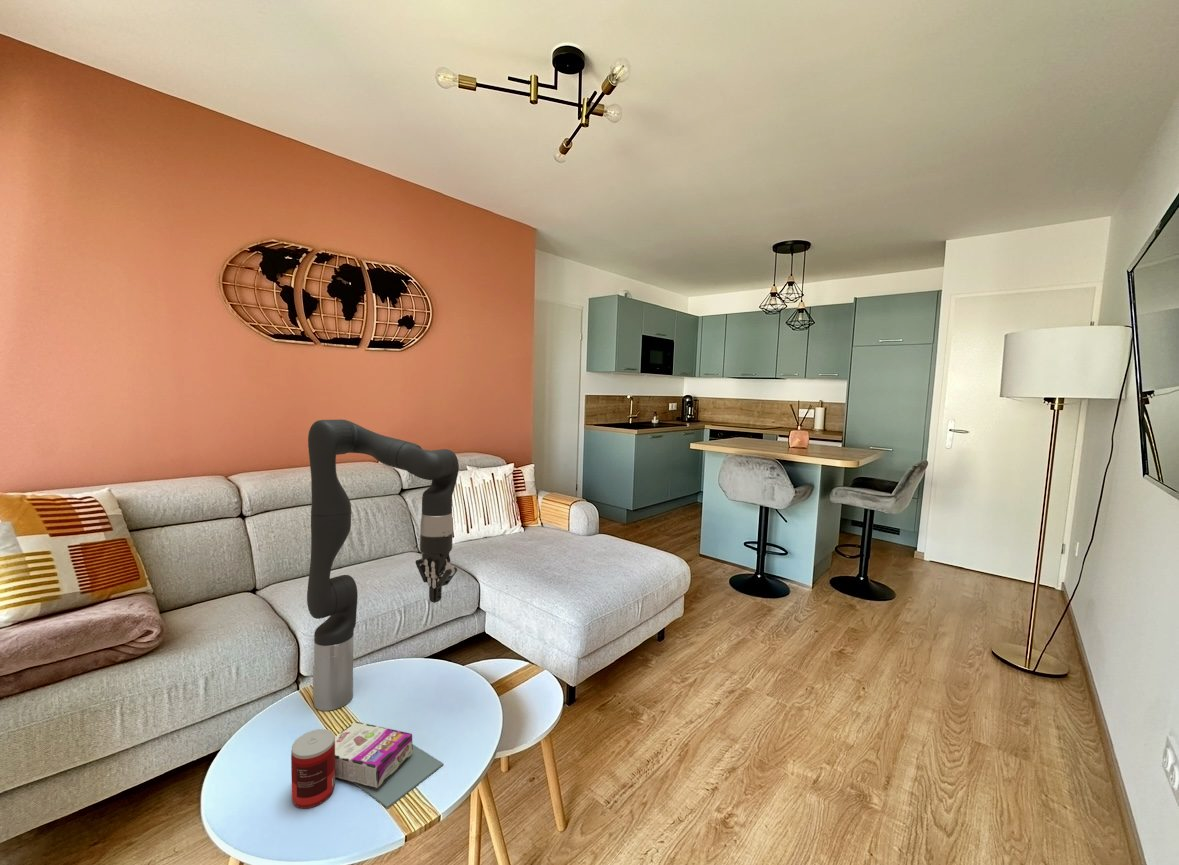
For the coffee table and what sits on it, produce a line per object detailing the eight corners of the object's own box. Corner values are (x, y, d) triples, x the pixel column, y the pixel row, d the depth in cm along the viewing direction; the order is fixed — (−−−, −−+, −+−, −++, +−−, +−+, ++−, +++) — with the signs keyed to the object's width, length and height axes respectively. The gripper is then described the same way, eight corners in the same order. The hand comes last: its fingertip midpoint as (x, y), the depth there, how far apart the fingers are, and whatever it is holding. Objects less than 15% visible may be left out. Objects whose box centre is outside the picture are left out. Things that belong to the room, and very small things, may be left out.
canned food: (320, 772, 102) (320, 723, 101) (343, 788, 98) (343, 737, 97) (283, 797, 95) (282, 745, 94) (305, 816, 91) (305, 761, 90)
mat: (346, 777, 101) (346, 775, 101) (403, 740, 113) (403, 738, 113) (387, 808, 93) (387, 806, 93) (443, 765, 105) (443, 763, 105)
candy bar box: (413, 755, 107) (356, 740, 112) (413, 733, 107) (355, 719, 112) (376, 791, 96) (315, 773, 102) (376, 767, 96) (314, 750, 101)
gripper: (406, 530, 115) (404, 599, 116) (442, 539, 108) (441, 613, 109) (431, 524, 122) (429, 590, 123) (467, 532, 115) (465, 602, 116)
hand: (435, 601), depth 116 cm, fingers closed
